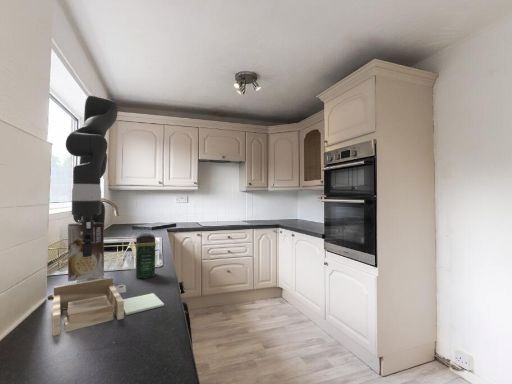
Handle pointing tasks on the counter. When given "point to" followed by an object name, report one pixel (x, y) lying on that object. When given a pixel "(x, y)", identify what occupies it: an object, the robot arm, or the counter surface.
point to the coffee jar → (145, 255)
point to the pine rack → (85, 297)
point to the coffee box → (76, 262)
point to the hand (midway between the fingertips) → (86, 254)
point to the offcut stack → (88, 313)
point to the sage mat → (141, 303)
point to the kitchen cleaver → (119, 288)
